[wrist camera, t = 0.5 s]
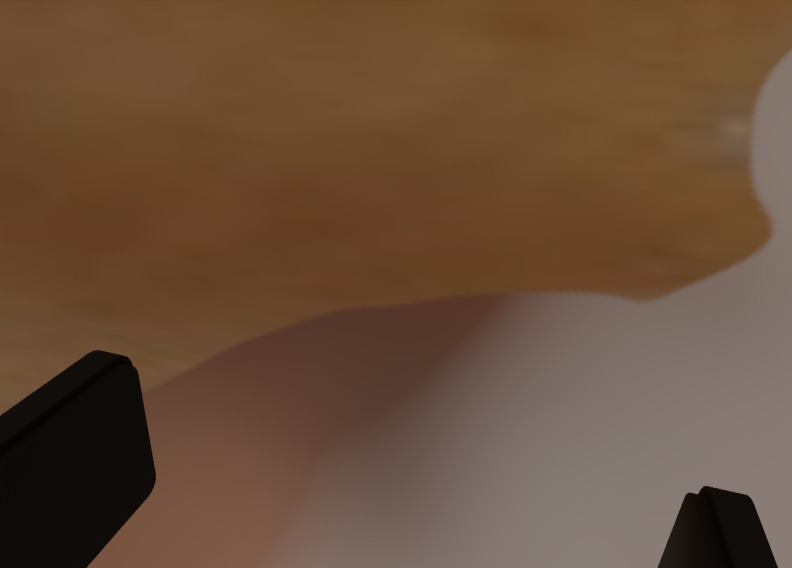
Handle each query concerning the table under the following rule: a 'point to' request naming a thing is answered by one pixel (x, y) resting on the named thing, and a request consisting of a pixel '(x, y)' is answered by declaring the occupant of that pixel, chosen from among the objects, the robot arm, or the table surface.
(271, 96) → the table surface
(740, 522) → the robot arm
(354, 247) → the table surface
